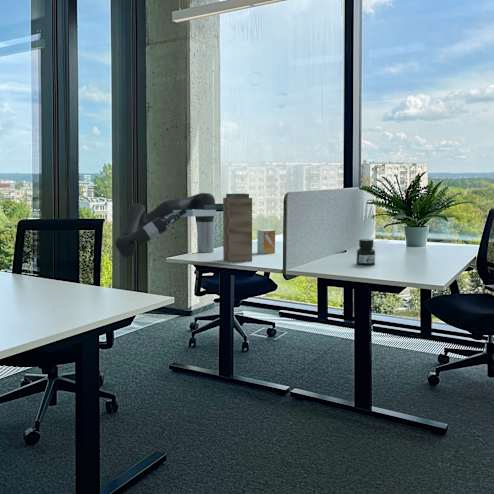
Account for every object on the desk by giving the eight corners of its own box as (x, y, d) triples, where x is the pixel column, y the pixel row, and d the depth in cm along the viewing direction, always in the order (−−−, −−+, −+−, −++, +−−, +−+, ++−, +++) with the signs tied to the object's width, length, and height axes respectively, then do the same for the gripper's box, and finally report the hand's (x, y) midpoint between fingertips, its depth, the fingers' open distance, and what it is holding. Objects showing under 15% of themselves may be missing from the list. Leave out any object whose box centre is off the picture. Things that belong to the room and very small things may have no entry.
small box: (263, 254, 300) (263, 230, 298) (257, 253, 305) (257, 229, 303) (275, 253, 304) (275, 230, 302) (268, 252, 309) (268, 229, 308)
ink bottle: (359, 265, 262) (360, 241, 261) (352, 263, 271) (353, 239, 269) (378, 265, 264) (379, 240, 263) (371, 262, 273) (371, 238, 271)
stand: (223, 259, 281) (223, 193, 276) (245, 258, 285) (245, 193, 281) (229, 262, 272) (229, 194, 267) (252, 261, 276) (252, 194, 271)
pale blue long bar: (173, 216, 265) (172, 206, 264) (214, 215, 272) (214, 205, 272) (174, 216, 262) (174, 206, 261) (215, 215, 270) (215, 205, 269)
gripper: (155, 233, 268) (185, 215, 273) (161, 236, 255) (192, 217, 260) (147, 220, 266) (177, 202, 270) (153, 223, 253) (184, 204, 257)
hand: (184, 210), depth 265 cm, fingers closed on pale blue long bar, 2 cm apart
